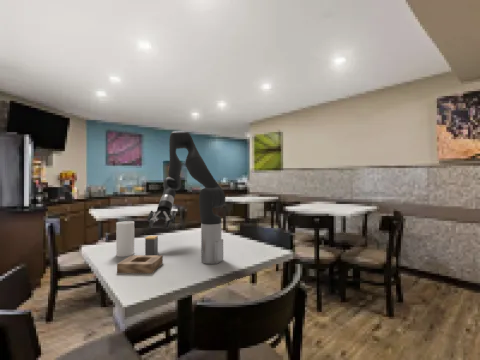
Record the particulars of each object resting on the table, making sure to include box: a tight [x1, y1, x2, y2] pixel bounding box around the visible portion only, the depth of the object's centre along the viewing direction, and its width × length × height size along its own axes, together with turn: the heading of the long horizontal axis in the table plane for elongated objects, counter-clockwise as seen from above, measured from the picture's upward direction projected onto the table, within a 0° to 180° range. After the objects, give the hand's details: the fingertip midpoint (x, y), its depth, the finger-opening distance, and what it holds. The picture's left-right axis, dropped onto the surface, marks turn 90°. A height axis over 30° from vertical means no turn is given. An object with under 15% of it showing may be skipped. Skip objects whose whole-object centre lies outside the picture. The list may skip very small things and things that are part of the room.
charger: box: [144, 235, 159, 255], centre depth 121 cm, size 4×4×10 cm
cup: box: [115, 220, 135, 257], centre depth 125 cm, size 8×8×16 cm
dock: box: [116, 254, 164, 274], centre depth 104 cm, size 14×12×4 cm
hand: (158, 227), depth 129 cm, fingers open, 8 cm apart
